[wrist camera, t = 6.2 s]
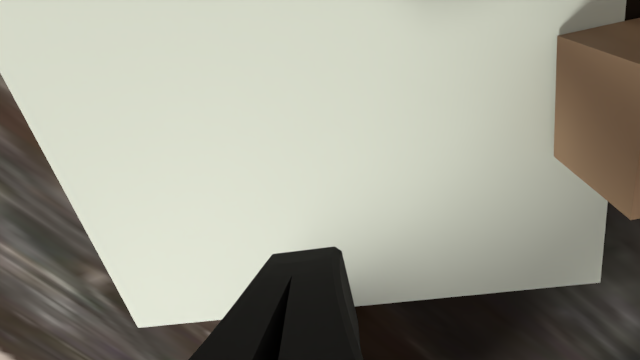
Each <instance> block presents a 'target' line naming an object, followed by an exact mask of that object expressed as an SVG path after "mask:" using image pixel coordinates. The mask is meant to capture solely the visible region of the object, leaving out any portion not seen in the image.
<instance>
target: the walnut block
mask: <svg viewBox="0 0 640 360" xmlns="http://www.w3.org/2000/svg"><path fill="white" fill-rule="evenodd" d="M554 157H555V158H556V159H557V160H559V161H560V162H561V163H562V164H563V165H565V166H566V167H567V168H568V169H569V170H571V171H572V172H573V173H574V174H575V175H577V176H578V177H579V178H580V179H582V180H583V181H584V182H585V183H586V184H588V185H589V186H590V187H591V188H592V189H594V190H595V191H596V192H597V193H598V194H600V195H601V196H602V197H603V198H605V199H606V200H607V201H608V202H609V203H611V204H612V205H613V206H614V207H615V208H617V209H618V210H619V211H620V212H621V213H623V214H624V215H625V216H626V217H628V218H629V219H630V220H634V219H639V218H640V18H636V19H631V20H627V21H622V22H618V23H613V24H609V25H604V26H599V27H595V28H590V29H586V30H581V31H576V32H572V33H567V34H563V35H558V36H557V58H556V93H555V127H554Z"/></svg>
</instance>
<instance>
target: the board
mask: <svg viewBox="0 0 640 360" xmlns="http://www.w3.org/2000/svg"><path fill="white" fill-rule="evenodd" d="M625 10H626V0H0V73H1V75H2V77H3V78H4V80H5V82H6V84H7V86H8V88H9V90H10V91H11V93H12V95H13V97H14V99H15V101H16V103H17V104H18V106H19V108H20V110H21V112H22V114H23V115H24V117H25V119H26V121H27V123H28V125H29V127H30V128H31V130H32V132H33V134H34V136H35V138H36V140H37V141H38V143H39V145H40V147H41V149H42V151H43V153H44V154H45V156H46V158H47V160H48V162H49V164H50V165H51V167H52V169H53V171H54V173H55V175H56V177H57V178H58V180H59V182H60V184H61V186H62V188H63V190H64V191H65V193H66V195H67V197H68V199H69V201H70V203H71V204H72V206H73V208H74V210H75V212H76V214H77V215H78V217H79V219H80V221H81V223H82V225H83V227H84V228H85V230H86V232H87V234H88V236H89V238H90V240H91V241H92V243H93V245H94V247H95V249H96V251H97V252H98V254H99V256H100V258H101V260H102V262H103V264H104V265H105V267H106V269H107V271H108V273H109V275H110V277H111V278H112V280H113V282H114V284H115V286H116V288H117V290H118V291H119V293H120V295H121V297H122V299H123V301H124V302H125V304H126V306H127V308H128V310H129V312H130V314H131V315H132V317H133V319H134V321H135V323H136V325H137V327H138V328H140V327H151V326H161V325H171V324H181V323H192V322H202V321H212V320H222V319H223V318H224V316H225V315H226V314H227V312H228V311H229V310H230V309H231V307H232V306H233V305H234V304H235V302H236V301H237V300H238V298H239V297H240V296H241V294H242V293H243V292H244V290H245V289H246V288H247V286H248V285H249V284H250V282H251V281H252V280H253V279H254V277H255V276H256V275H257V273H258V272H259V271H260V269H261V268H262V267H263V266H264V264H265V263H266V262H267V260H268V259H269V258H270V257H271V255H272V254H277V253H285V252H293V251H301V250H309V249H318V248H326V247H334V246H335V247H336V248H338V249H339V250H341V251H342V255H343V259H344V263H345V267H346V272H347V276H348V280H349V284H350V289H351V293H352V297H353V302H354V306H366V305H376V304H386V303H396V302H407V301H417V300H427V299H437V298H448V297H458V296H468V295H478V294H489V293H499V292H509V291H519V290H530V289H540V288H550V287H560V286H571V285H581V284H591V283H600V280H601V270H602V259H603V248H604V237H605V226H606V216H607V205H608V201H607V200H606V199H605V198H603V197H602V196H601V195H600V194H598V193H597V192H596V191H595V190H594V189H592V188H591V187H590V186H589V185H588V184H586V183H585V182H584V181H583V180H582V179H580V178H579V177H578V176H577V175H575V174H574V173H573V172H572V171H571V170H569V169H568V168H567V167H566V166H565V165H563V164H562V163H561V162H560V161H559V160H557V159H556V158H555V157H554V127H555V93H556V58H557V36H558V35H563V34H567V33H572V32H576V31H581V30H586V29H590V28H595V27H599V26H604V25H609V24H613V23H618V22H622V21H625Z"/></svg>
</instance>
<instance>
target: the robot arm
mask: <svg viewBox="0 0 640 360" xmlns="http://www.w3.org/2000/svg"><path fill="white" fill-rule="evenodd" d="M189 360H364V359H363V356H362V354H361V348H360V339H359V326H358V319H357V314H356V310H355V306H354V302H353V297H352V293H351V289H350V284H349V280H348V276H347V272H346V267H345V263H344V259H343V255H342V251H341V250H339V249H338V248H336V247H335V246H334V247H326V248H318V249H309V250H301V251H293V252H285V253H277V254H272V255H271V257H270V258H269V259H268V260H267V262H266V263H265V264H264V266H263V267H262V268H261V269H260V271H259V272H258V273H257V275H256V276H255V277H254V279H253V280H252V281H251V282H250V284H249V285H248V286H247V288H246V289H245V290H244V292H243V293H242V294H241V296H240V297H239V298H238V300H237V301H236V302H235V304H234V305H233V306H232V307H231V309H230V310H229V311H228V312H227V314H226V315H225V316H224V318H223V319H222V320H221V321H220V323H219V324H218V325H217V326H216V328H215V329H214V330H213V331H212V333H211V334H210V335H209V336H208V338H207V339H206V340H205V341H204V342H203V344H202V345H201V346H200V347H199V348H198V349H197V351H196V352H195V353H194V354H193V355H192V356H191V357H190V359H189Z"/></svg>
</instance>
